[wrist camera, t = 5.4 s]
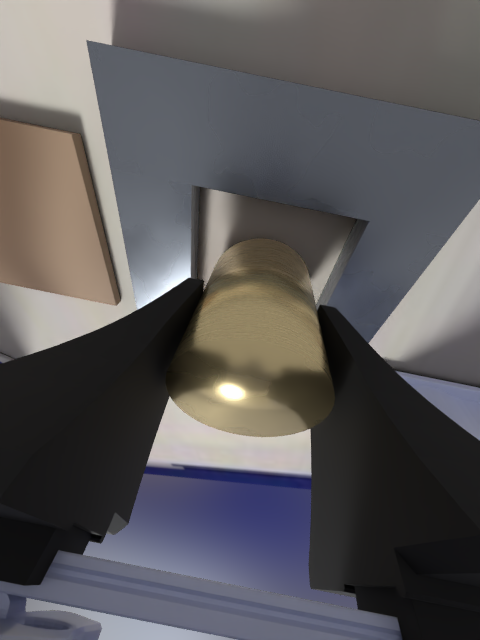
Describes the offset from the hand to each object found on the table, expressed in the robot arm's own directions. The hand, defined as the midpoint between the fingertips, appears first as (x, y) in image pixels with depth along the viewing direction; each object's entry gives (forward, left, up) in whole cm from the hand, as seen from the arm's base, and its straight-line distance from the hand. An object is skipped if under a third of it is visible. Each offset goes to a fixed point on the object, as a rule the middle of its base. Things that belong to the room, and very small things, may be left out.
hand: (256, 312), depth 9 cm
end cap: (0, 0, -2) cm, 2 cm away
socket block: (0, -1, -3) cm, 3 cm away
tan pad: (+12, 0, -3) cm, 12 cm away
